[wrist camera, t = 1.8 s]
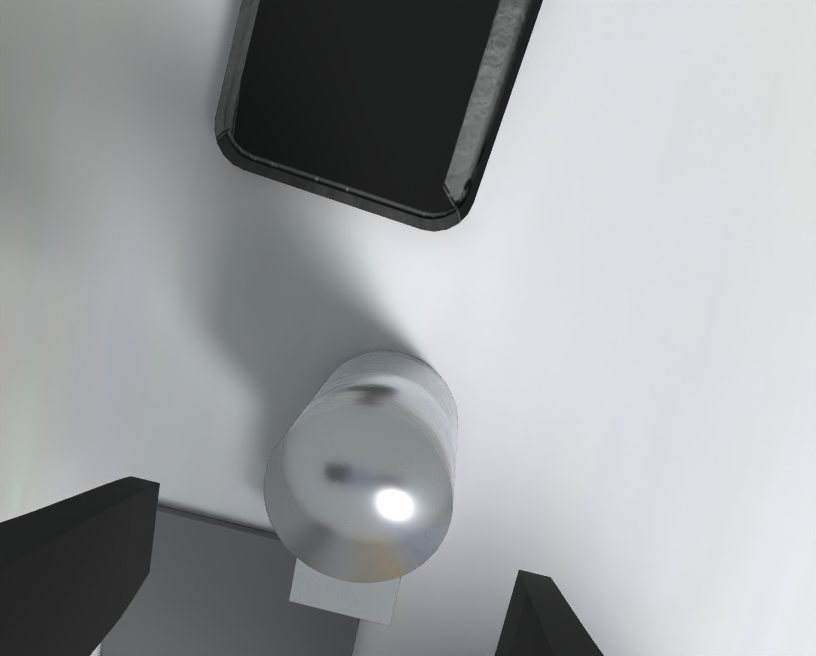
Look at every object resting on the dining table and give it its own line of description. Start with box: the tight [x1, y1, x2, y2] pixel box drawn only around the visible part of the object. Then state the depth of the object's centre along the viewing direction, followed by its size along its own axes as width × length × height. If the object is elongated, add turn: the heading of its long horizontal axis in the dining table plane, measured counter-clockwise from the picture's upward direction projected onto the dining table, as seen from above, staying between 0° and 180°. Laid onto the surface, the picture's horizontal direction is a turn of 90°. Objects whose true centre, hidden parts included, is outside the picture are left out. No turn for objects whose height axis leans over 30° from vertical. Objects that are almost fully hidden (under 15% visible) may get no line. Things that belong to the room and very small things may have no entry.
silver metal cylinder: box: [264, 351, 458, 626], centre depth 17 cm, size 5×7×5 cm, turn 169°
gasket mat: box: [102, 505, 359, 656], centre depth 22 cm, size 9×8×1 cm
